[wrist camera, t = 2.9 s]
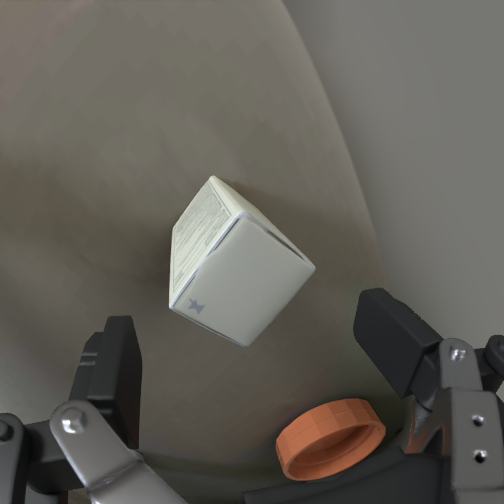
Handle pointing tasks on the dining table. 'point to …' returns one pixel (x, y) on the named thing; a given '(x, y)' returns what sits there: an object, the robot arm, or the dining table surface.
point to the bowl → (329, 439)
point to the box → (232, 265)
